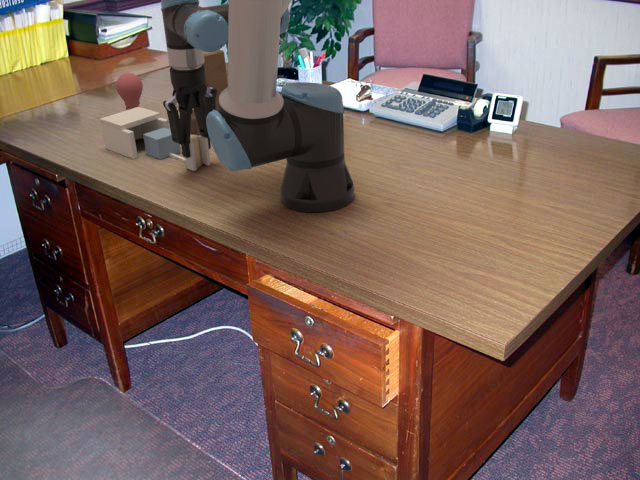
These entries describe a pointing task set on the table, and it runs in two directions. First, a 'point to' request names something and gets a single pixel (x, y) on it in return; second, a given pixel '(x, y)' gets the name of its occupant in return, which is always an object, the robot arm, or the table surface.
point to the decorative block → (212, 80)
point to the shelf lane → (129, 129)
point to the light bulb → (129, 89)
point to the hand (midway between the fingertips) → (198, 166)
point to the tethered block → (168, 145)
